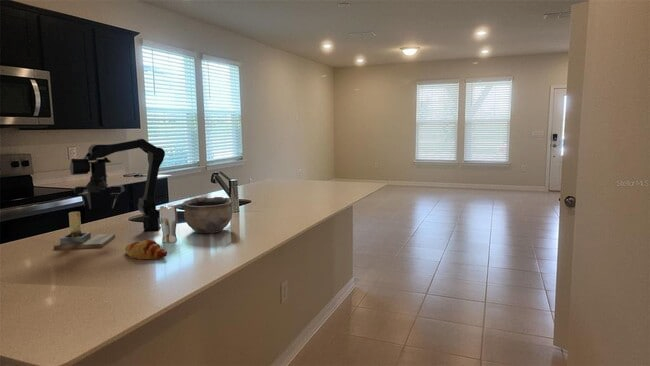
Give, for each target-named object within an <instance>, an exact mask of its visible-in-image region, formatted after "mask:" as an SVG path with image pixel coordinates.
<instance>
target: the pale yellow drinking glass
mask: <svg viewBox="0 0 650 366" xmlns="http://www.w3.org/2000/svg"><path fill="white" fill-rule="evenodd" d="M68 220H69V221H68V222H69V233H70V237H81V236H82V233H83V232H82V221H81V220H82V219H81V211H71V212H68Z"/></svg>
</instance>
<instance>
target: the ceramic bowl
mask: <svg viewBox="0 0 650 366" xmlns="http://www.w3.org/2000/svg"><path fill="white" fill-rule="evenodd" d="M182 204H183V207H184V211H183V217H184V218H183V219H184V221H185V222H186V224H187V225H188V227H190V228H191V229H192V230H193V231H194V232H196V233H201V234H212V233H213V234H214V233H218V232H222V231H223V230H224V229H225V228H226V227H228V225H229V224H230V222H231V220H232V218H233V210H232V207H231V204H232V199H231V198H229V197H225V198H224V197H223V196H214V197H213V199H209V198H208V197H206V196H201V197H194V198H191V199H187V200H184V201H183V202H182Z"/></svg>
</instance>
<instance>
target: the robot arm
mask: <svg viewBox="0 0 650 366" xmlns="http://www.w3.org/2000/svg"><path fill="white" fill-rule="evenodd" d="M134 149H140V150H141V151H142V152H144V153H145V154H147V162H148V163H147V164H148V169H147V175H146V181H145V187H144V193H143V196H142V198H141V197H139V198H138V202H137V203H138V204H137V205H136V206H137V207H138V211H139V212H140V214H141V213H142V215H143V218H144V219H143V221H142V222H143V232H156V231H157V232H158V231H159V230H161V229H162V227H161V223H160V210H158V209H157V203H156V198H155V196H156V189H157V188H156V187H157V183H158V177H159V172H160V167H161V165H162V163H163V162H164V159H165V156H166V152H165V150H164V148H162V147H157V146H156V145H154V144H153V143H150V142H149V141H147V140H145V139H144V138H136V139H132V140H126V141H120V142H116V143H115V142H114V143H94V144H90V146H89V147H88V152H87V153H86V154H85V156H84V157H83V158H70V163H69V164H70V166H69V171H70V175H71V176H77V175H88V173H90V176H89V178H90V180H89V181H88V183H87V184H86V185H78V186H75V187H74V189H73V194H75V195H76V194H77V195H78V197H79V196H80V197H81V198H83V201H84V202H85V204H86V206H87V208H88V210H91V208H92V201H91V194H92V193H96V194H97V193H100V192H111V193H110V198H111V200H110V207H111V209H114V207H115V205H116V201H117V199H118V197H119V195H120V194H122V193H123V192H125V191H126V189H125V185H123V184H113V185H112V186H109V184H108V179H107V178H108V175H107V165H106V164H107V163H112V161H111V160H110V159H109V158H108V156H109V155H111V154H115V153H117V152H118V153H119V152H124V151H128V150H129V151H130V150H134Z"/></svg>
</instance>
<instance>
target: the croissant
mask: <svg viewBox="0 0 650 366" xmlns="http://www.w3.org/2000/svg"><path fill="white" fill-rule="evenodd" d="M124 250H125V253H126V254H127V255H128V256H129V257H131V259H135V258H137V260H160V259H163V258H164V257H167V255H168V251H167V250H165V249H164V248H162V247H161V245H160V244H158V243H157V242H156V241H155V240H153V239H144V240H141V241H134V242H132V243H130V244H127V245H126V247H125V248H124Z"/></svg>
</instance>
